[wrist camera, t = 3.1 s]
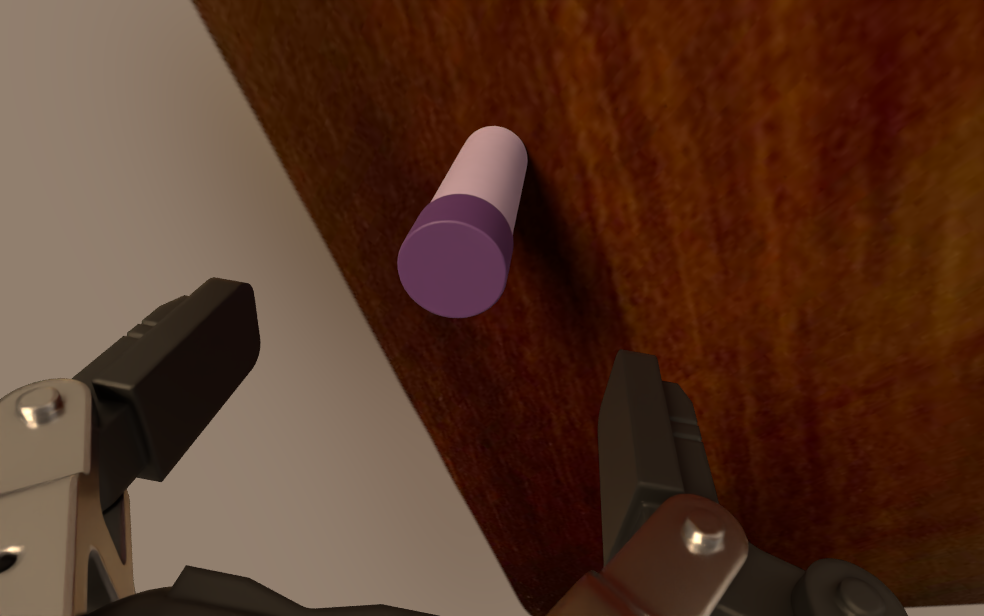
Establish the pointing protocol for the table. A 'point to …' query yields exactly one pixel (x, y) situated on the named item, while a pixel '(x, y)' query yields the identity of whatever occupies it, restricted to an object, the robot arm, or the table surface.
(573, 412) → the table surface
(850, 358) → the table surface
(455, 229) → the glue stick
